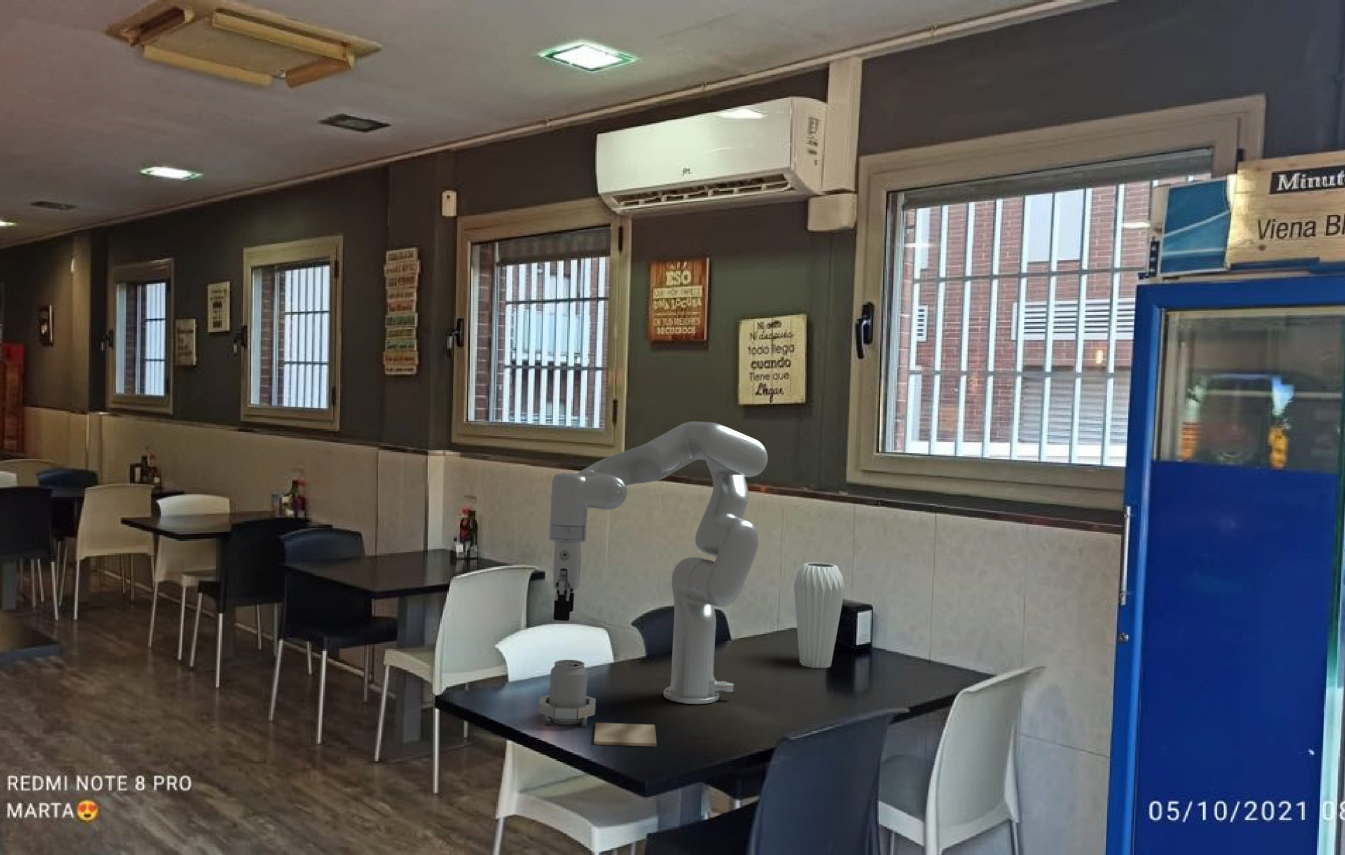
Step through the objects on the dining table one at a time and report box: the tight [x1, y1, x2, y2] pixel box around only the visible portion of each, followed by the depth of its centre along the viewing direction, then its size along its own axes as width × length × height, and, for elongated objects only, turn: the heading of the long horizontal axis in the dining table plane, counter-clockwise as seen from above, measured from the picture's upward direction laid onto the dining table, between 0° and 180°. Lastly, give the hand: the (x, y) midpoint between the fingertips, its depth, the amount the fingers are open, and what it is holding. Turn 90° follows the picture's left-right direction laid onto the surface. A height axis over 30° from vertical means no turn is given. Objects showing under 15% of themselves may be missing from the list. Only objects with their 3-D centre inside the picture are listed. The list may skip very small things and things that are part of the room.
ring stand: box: [538, 694, 597, 728], centre depth 216 cm, size 11×11×4 cm
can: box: [549, 659, 588, 726], centre depth 216 cm, size 8×8×12 cm
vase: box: [793, 562, 845, 669], centre depth 275 cm, size 13×13×26 cm
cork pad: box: [593, 722, 657, 747], centre depth 207 cm, size 12×12×1 cm
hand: (563, 615), depth 217 cm, fingers open, 9 cm apart
